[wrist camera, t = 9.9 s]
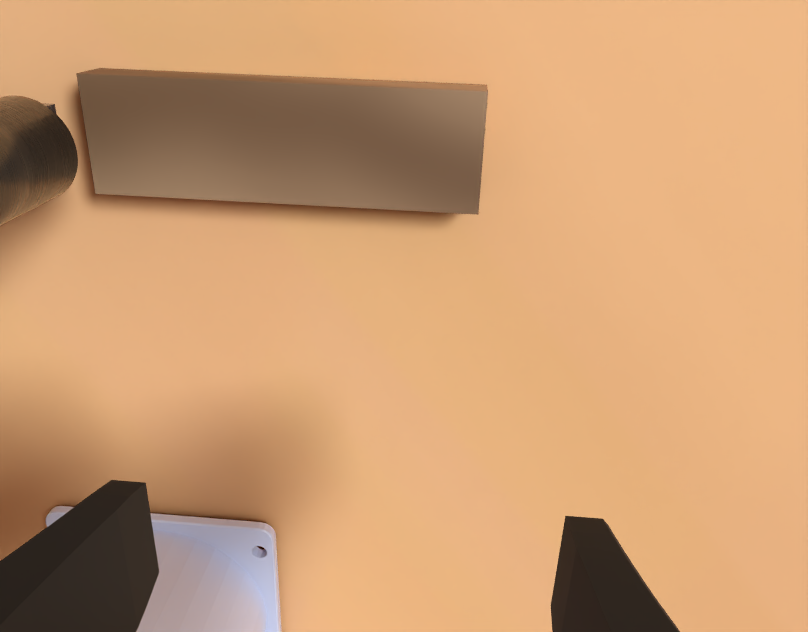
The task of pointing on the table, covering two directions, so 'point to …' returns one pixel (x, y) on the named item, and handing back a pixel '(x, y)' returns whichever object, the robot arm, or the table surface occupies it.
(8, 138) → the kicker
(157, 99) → the rail
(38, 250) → the table surface
